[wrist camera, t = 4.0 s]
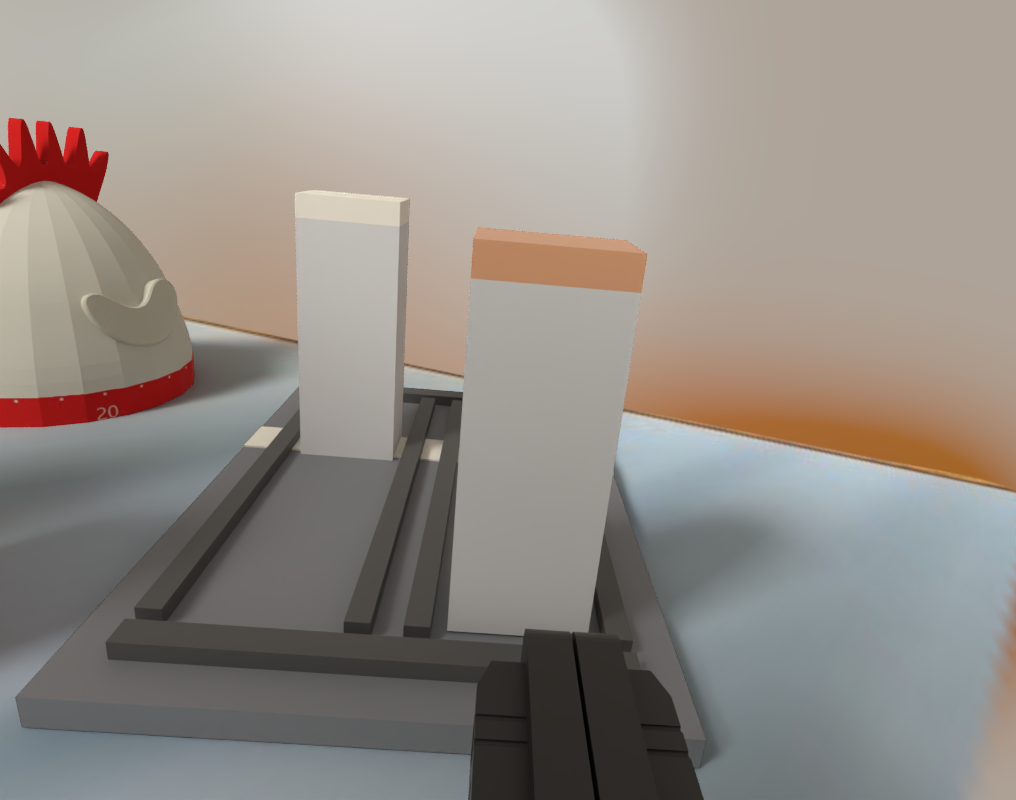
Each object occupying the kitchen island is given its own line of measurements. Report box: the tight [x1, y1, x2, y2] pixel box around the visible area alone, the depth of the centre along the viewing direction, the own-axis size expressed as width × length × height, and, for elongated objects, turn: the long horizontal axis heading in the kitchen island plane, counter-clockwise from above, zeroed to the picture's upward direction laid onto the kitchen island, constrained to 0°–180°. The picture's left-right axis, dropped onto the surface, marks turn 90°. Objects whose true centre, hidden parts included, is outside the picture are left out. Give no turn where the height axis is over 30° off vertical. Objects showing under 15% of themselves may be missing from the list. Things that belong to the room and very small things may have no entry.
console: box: [15, 190, 706, 768], centre depth 27 cm, size 18×25×13 cm
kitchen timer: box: [0, 118, 195, 427], centre depth 38 cm, size 14×14×15 cm
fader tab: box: [447, 227, 647, 636], centre depth 20 cm, size 4×3×12 cm
